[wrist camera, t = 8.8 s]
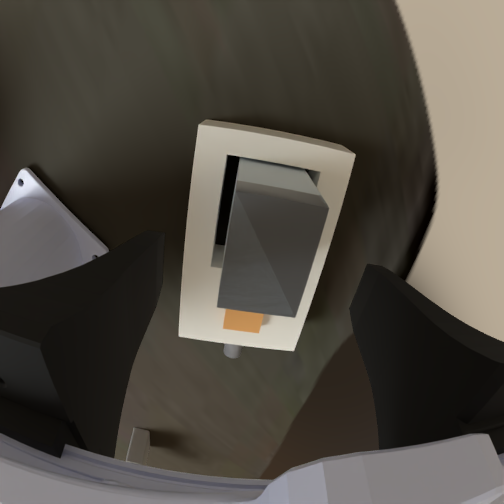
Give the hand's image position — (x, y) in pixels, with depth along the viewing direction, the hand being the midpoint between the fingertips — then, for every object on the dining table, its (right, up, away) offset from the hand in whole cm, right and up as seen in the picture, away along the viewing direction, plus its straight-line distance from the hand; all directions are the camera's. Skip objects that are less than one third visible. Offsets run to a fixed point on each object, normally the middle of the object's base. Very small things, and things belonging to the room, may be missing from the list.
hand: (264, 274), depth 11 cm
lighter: (-13, -21, +19) cm, 31 cm away
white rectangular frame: (0, +1, +8) cm, 8 cm away
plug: (0, +4, +6) cm, 7 cm away
